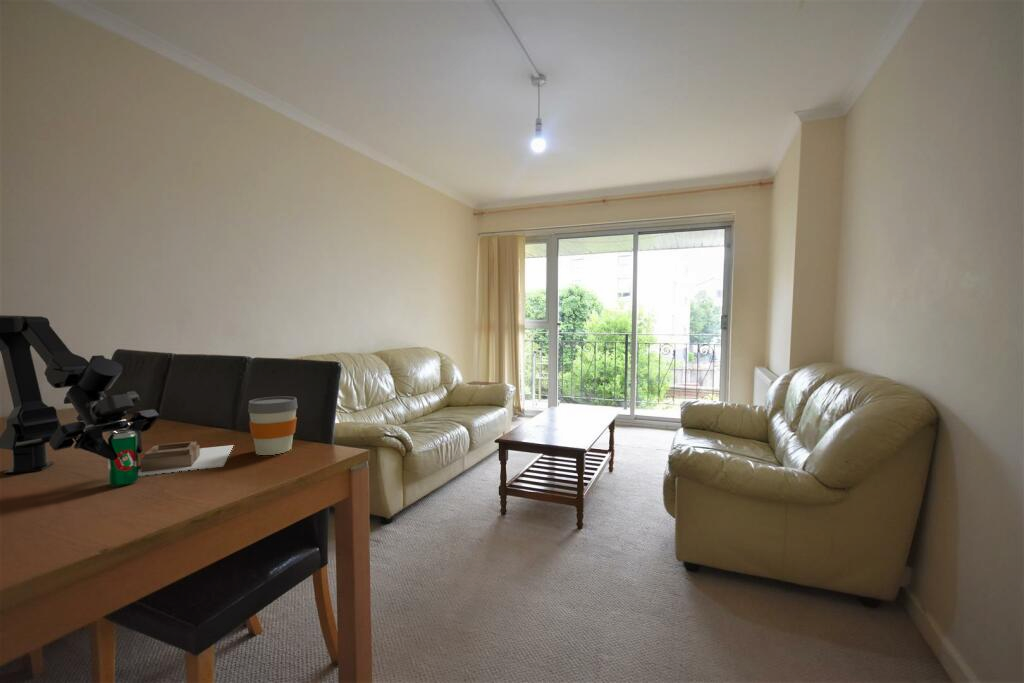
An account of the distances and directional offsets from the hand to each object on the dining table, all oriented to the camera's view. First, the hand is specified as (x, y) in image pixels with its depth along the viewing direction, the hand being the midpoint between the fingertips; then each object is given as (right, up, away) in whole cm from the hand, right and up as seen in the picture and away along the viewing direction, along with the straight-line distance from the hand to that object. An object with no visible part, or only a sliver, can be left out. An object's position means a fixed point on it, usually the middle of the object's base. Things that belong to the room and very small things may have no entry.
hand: (127, 455), depth 97 cm
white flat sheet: (+1, -6, +17) cm, 18 cm away
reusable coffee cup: (+19, -6, +26) cm, 33 cm away
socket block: (0, -6, +13) cm, 15 cm away
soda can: (-1, -7, +1) cm, 7 cm away
